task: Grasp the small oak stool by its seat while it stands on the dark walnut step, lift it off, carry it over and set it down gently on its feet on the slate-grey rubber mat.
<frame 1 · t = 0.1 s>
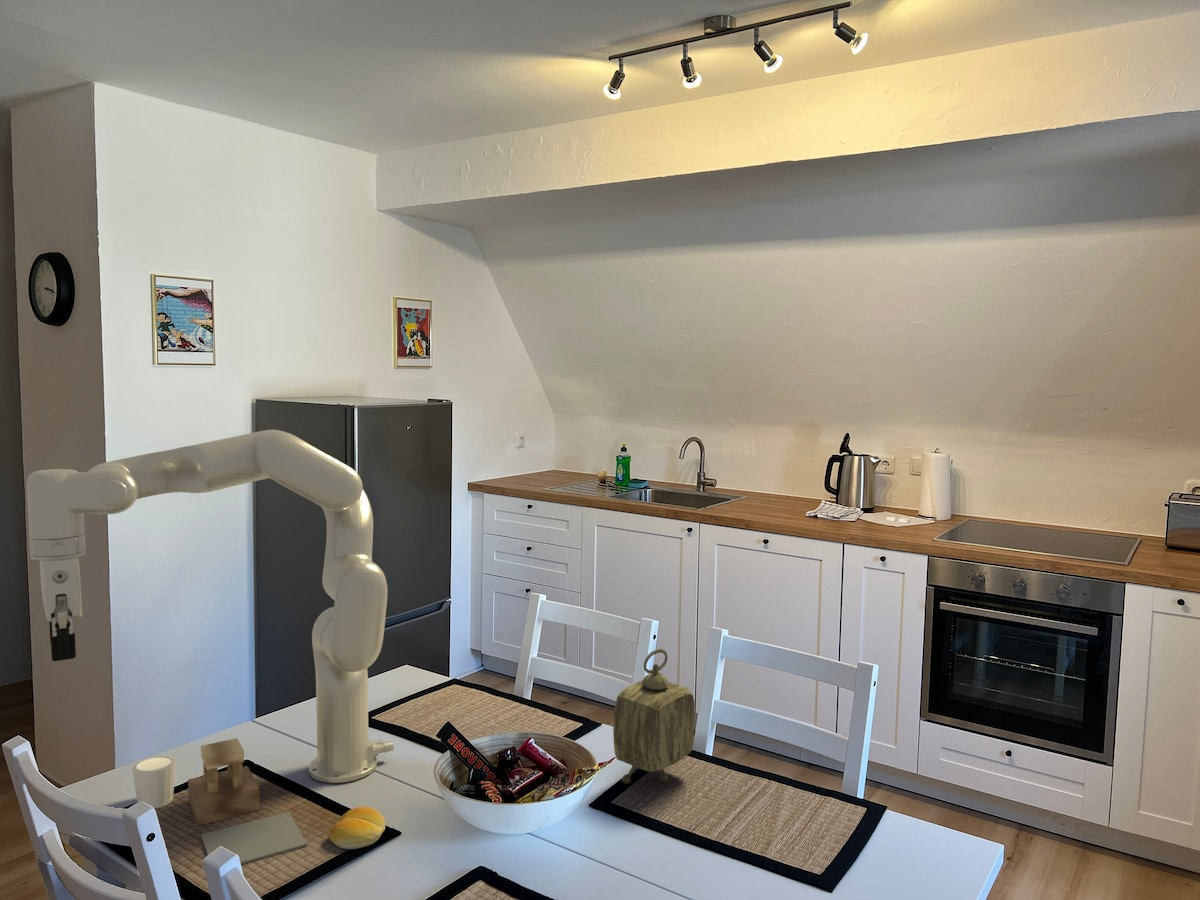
hand: (62, 650, 140), 31 cm above the table, fingers open, 9 cm apart
step: (224, 805, 153), on the table
mat: (253, 841, 141), on the table
beige cylindrical piece: (155, 802, 154), on the table
tabletop clock: (655, 779, 164), on the table
stool: (223, 783, 152), point 4 cm above the table, touching step
bread roll: (357, 837, 144), on the table
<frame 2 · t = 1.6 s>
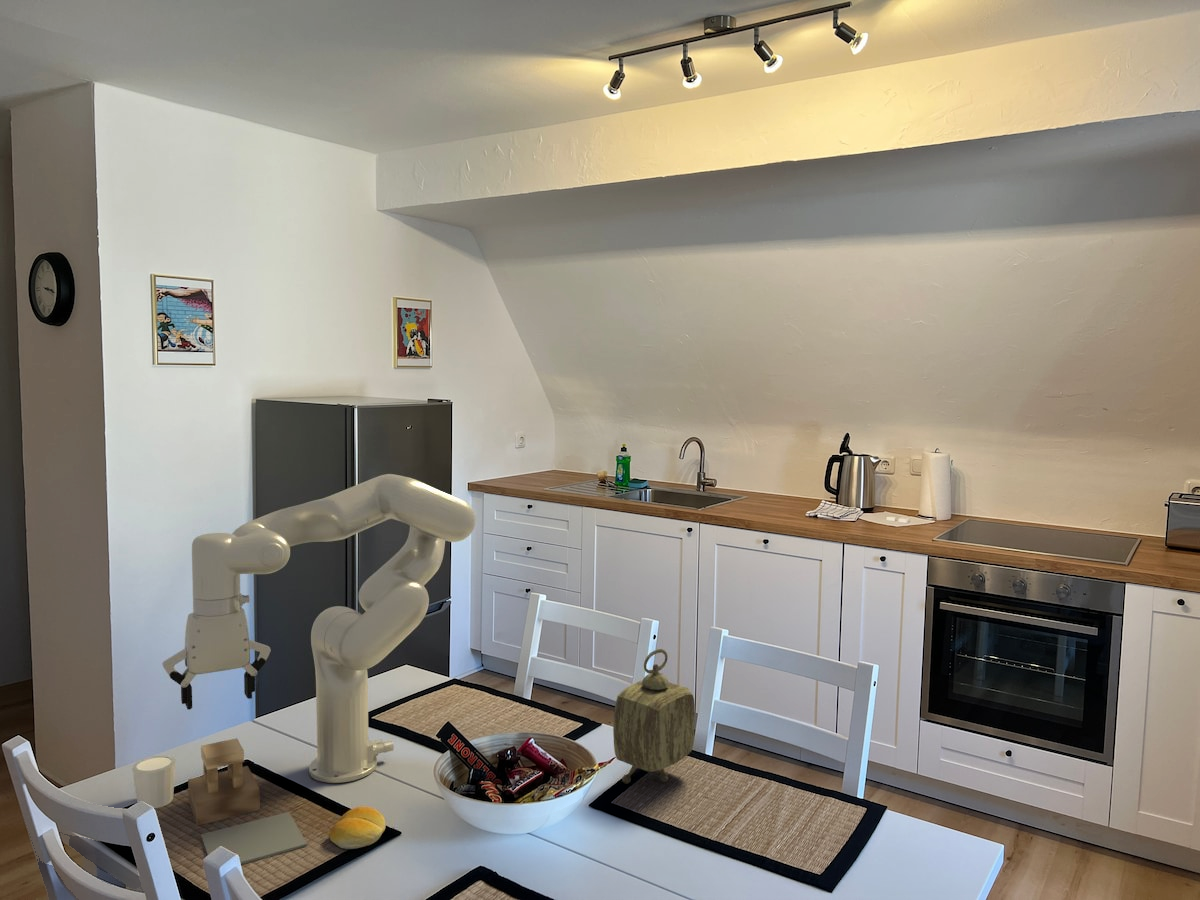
hand: (219, 701, 151), 19 cm above the table, fingers open, 9 cm apart
nothing on the table moved.
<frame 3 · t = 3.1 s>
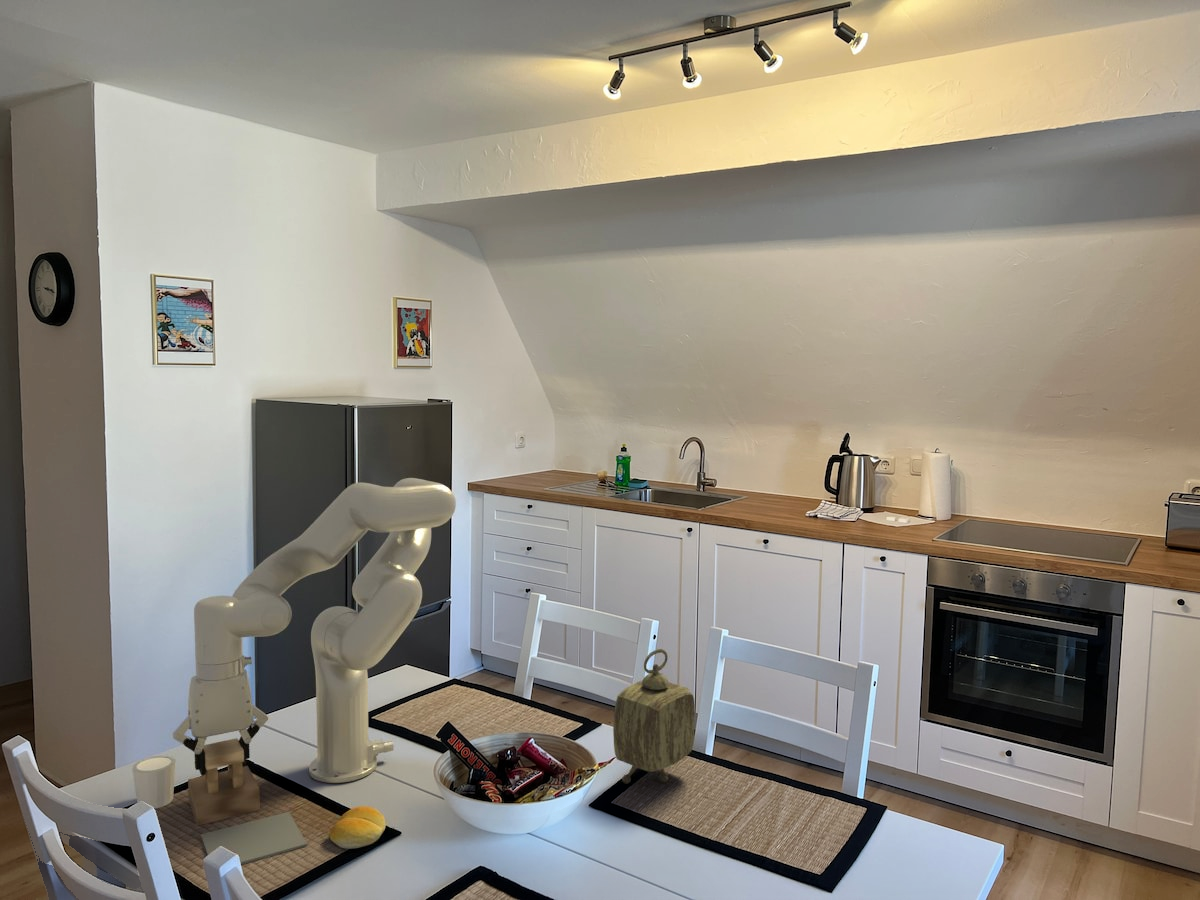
hand: (222, 766, 152), 7 cm above the table, fingers closed on stool, 6 cm apart
stool: (223, 783, 152), point 4 cm above the table, touching gripper, step
everything else where it was.
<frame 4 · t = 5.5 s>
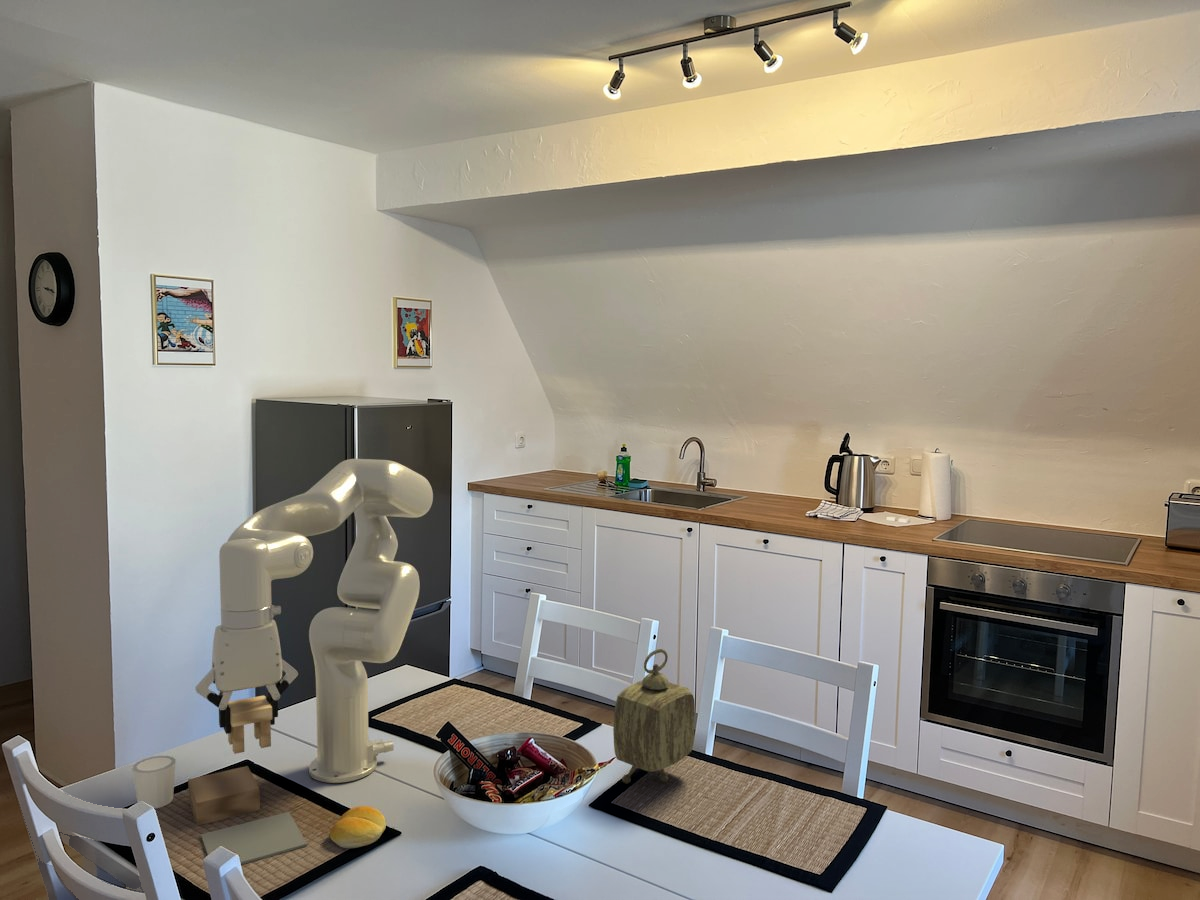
hand: (249, 725, 139), 20 cm above the table, fingers closed on stool, 6 cm apart
stool: (249, 743, 140), point 17 cm above the table, touching gripper
everything else where it was.
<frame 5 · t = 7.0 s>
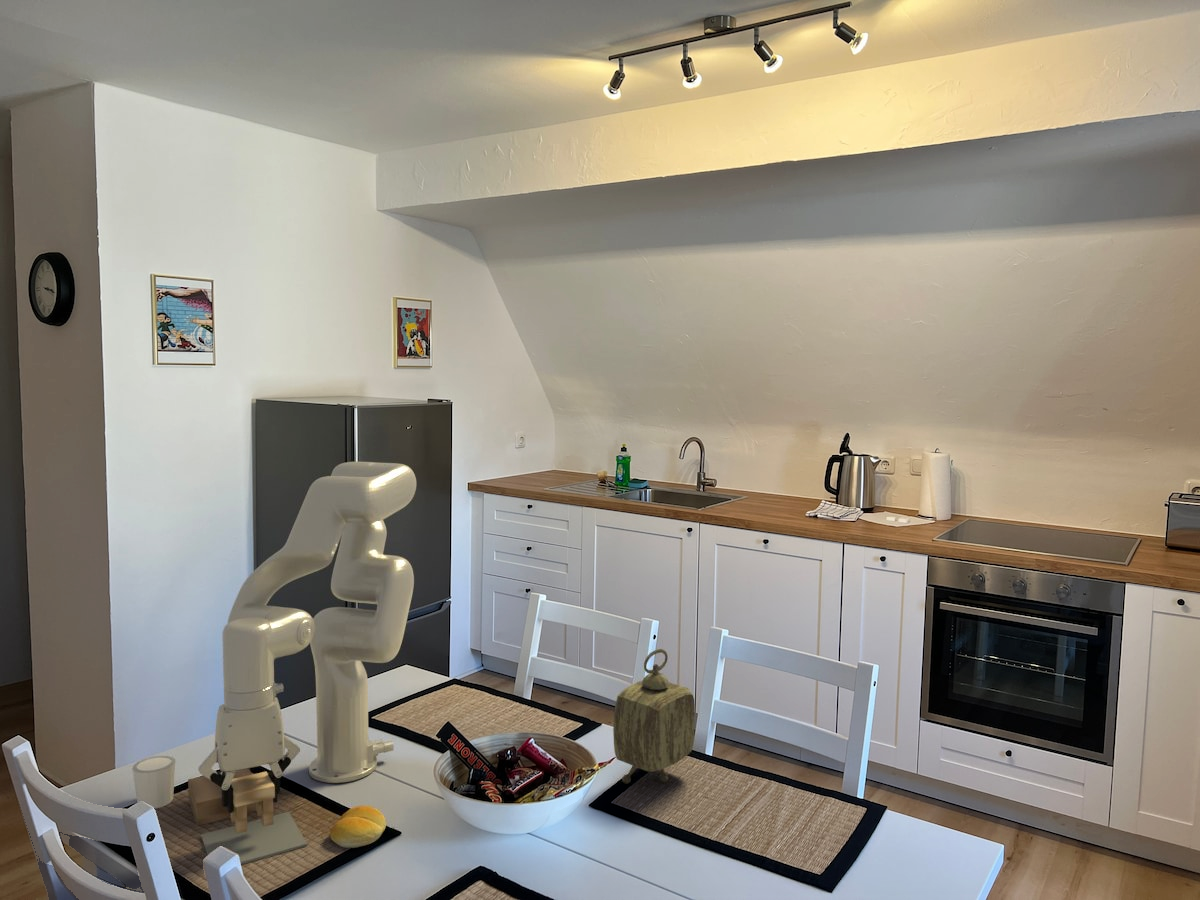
hand: (251, 803, 140), 7 cm above the table, fingers closed on stool, 6 cm apart
stool: (251, 821, 141), point 4 cm above the table, touching gripper
everything else where it was.
when the fingers open (4 cm above the table, at t = 8.0 s): stool stays where it is, resting on mat.
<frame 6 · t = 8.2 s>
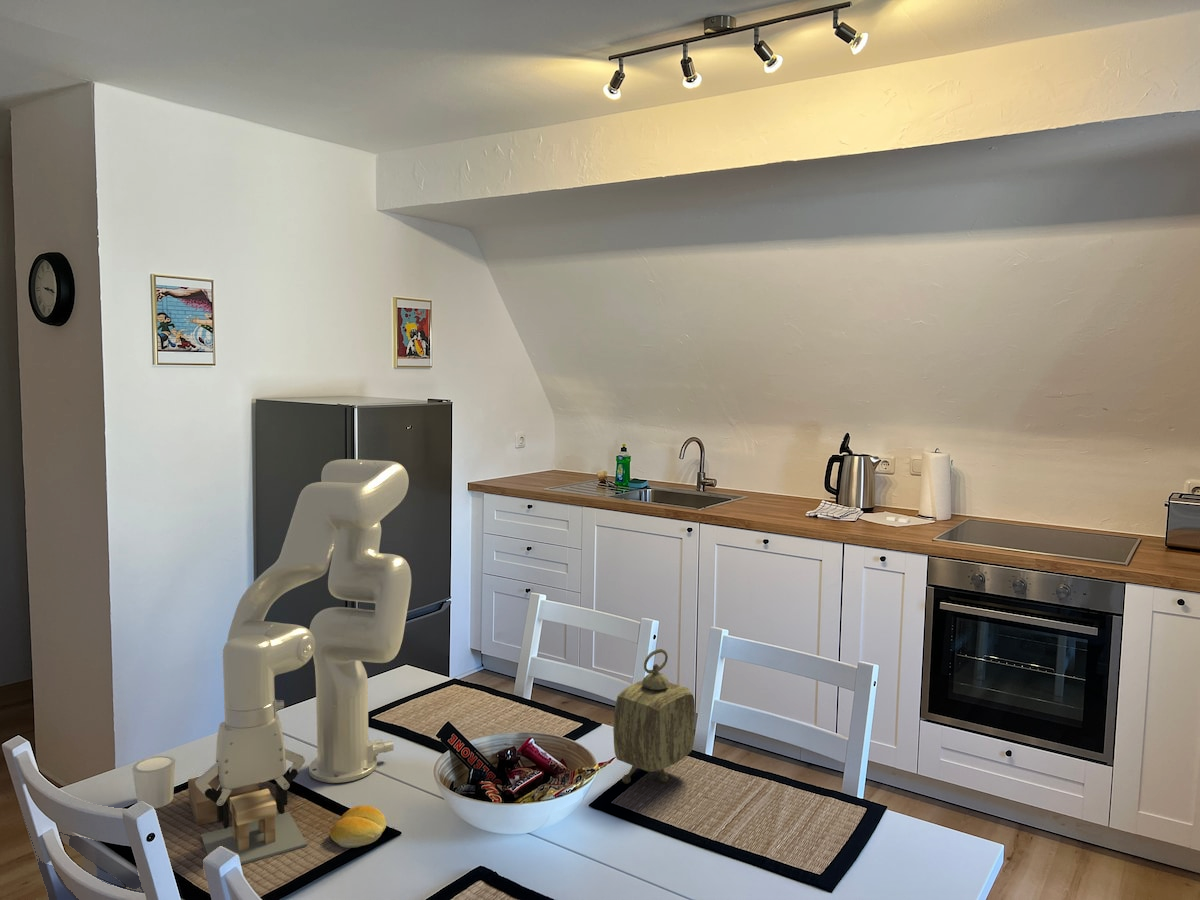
hand: (252, 816, 141), 4 cm above the table, fingers open, 8 cm apart
stool: (254, 838, 141), resting on mat
everything else where it was.
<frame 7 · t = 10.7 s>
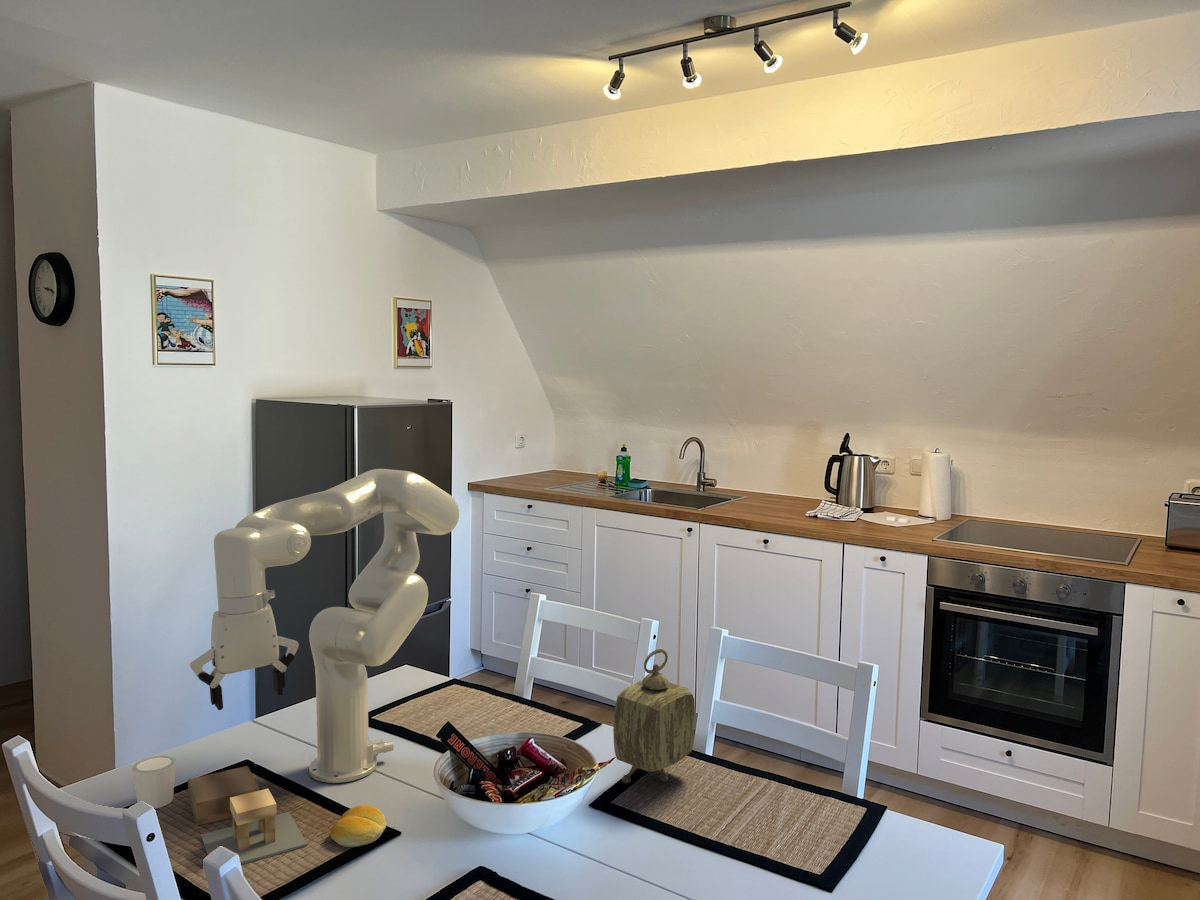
hand: (249, 699, 147), 21 cm above the table, fingers open, 9 cm apart
nothing on the table moved.
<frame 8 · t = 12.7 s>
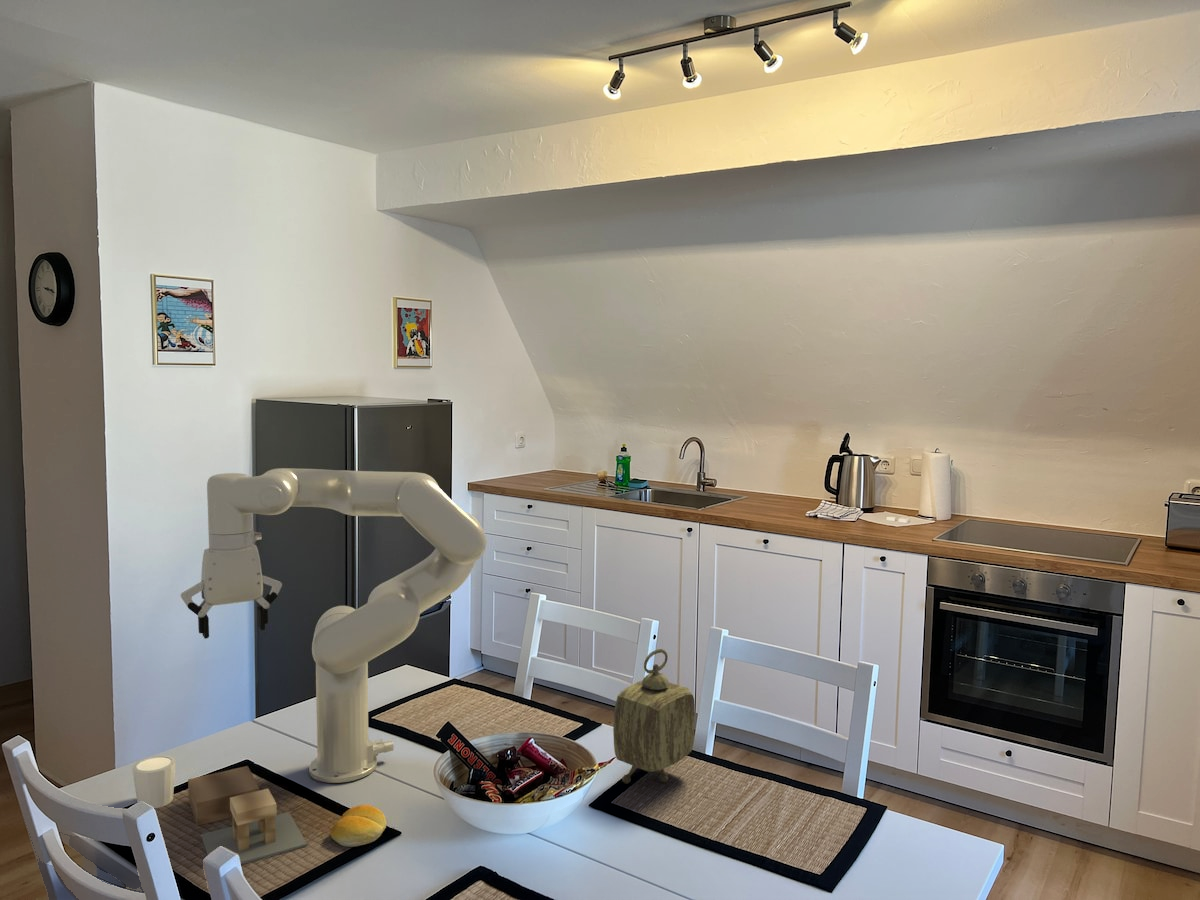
hand: (233, 632, 160), 28 cm above the table, fingers open, 9 cm apart
nothing on the table moved.
at the end: stool inside the target area on the mat (0.1 cm from its centre), point 0.4 cm above the mat's base; stool tilted 0°; the gripper is holding nothing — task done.
